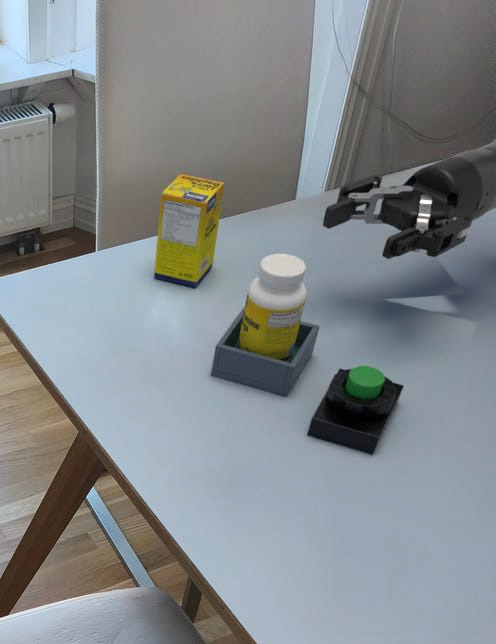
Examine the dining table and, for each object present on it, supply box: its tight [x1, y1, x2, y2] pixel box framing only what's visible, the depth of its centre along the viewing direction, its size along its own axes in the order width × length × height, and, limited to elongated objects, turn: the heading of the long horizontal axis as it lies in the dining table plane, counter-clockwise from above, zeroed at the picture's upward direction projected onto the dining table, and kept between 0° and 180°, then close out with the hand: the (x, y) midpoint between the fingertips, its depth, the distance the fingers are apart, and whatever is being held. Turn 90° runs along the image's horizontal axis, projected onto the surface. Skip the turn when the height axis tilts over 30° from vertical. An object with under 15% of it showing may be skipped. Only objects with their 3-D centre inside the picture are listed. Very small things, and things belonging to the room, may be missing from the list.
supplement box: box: [153, 173, 225, 288], centre depth 110 cm, size 6×6×11 cm
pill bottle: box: [237, 253, 308, 362], centre depth 96 cm, size 6×6×11 cm
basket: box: [210, 306, 321, 397], centre depth 100 cm, size 9×9×4 cm
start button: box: [345, 365, 386, 399], centre depth 91 cm, size 4×4×2 cm
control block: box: [306, 368, 404, 455], centre depth 93 cm, size 7×10×4 cm
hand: (356, 233), depth 95 cm, fingers open, 8 cm apart
